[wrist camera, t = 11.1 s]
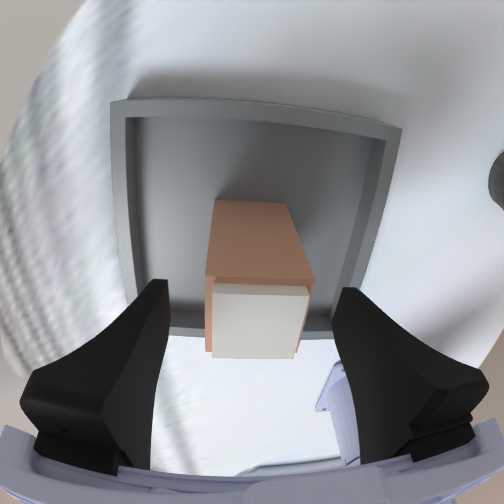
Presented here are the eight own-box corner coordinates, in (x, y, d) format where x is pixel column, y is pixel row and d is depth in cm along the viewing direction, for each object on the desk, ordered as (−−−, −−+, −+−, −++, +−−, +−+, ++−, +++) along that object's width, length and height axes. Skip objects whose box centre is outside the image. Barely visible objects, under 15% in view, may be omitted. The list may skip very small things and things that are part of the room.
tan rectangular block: (285, 203, 18) (319, 289, 11) (276, 263, 20) (299, 362, 13) (214, 199, 17) (203, 285, 10) (212, 260, 19) (204, 361, 12)
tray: (381, 122, 16) (402, 129, 14) (332, 316, 23) (341, 338, 21) (126, 98, 15) (110, 102, 13) (140, 308, 22) (132, 331, 20)
